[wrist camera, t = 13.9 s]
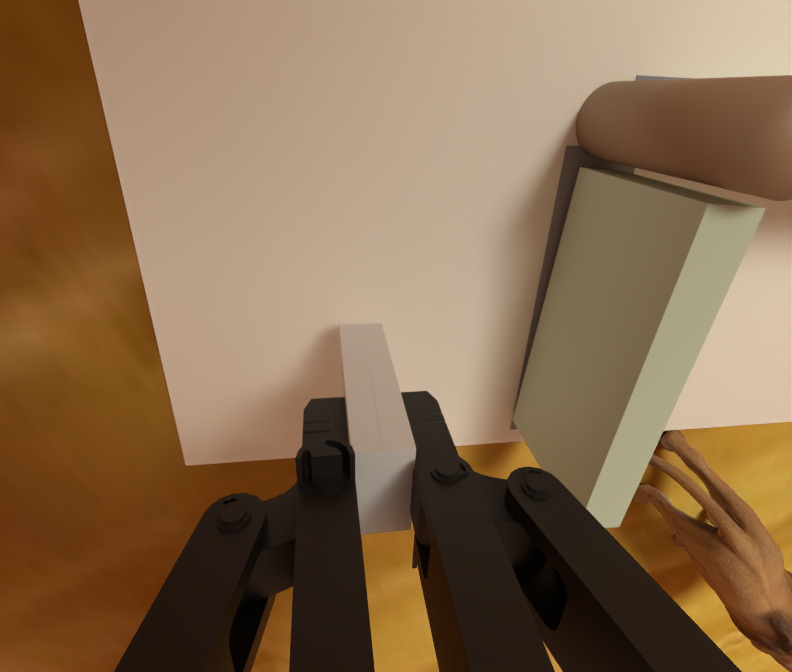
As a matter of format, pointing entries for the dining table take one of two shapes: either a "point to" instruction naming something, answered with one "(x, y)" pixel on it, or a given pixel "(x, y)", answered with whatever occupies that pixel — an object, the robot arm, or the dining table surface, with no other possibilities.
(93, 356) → the dining table surface
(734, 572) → the lion figurine
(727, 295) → the card
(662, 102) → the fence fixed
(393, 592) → the dining table surface
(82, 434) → the dining table surface
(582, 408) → the fence panel
